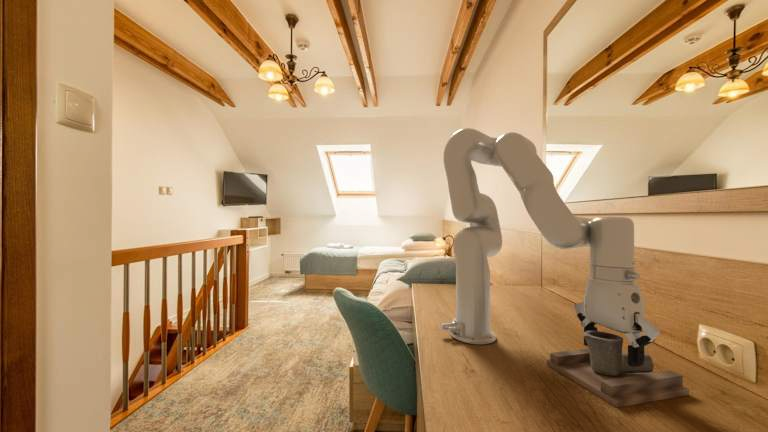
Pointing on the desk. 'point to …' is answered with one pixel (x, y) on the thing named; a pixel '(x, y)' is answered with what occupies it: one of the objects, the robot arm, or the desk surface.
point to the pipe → (611, 355)
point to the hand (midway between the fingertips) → (611, 354)
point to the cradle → (617, 380)
